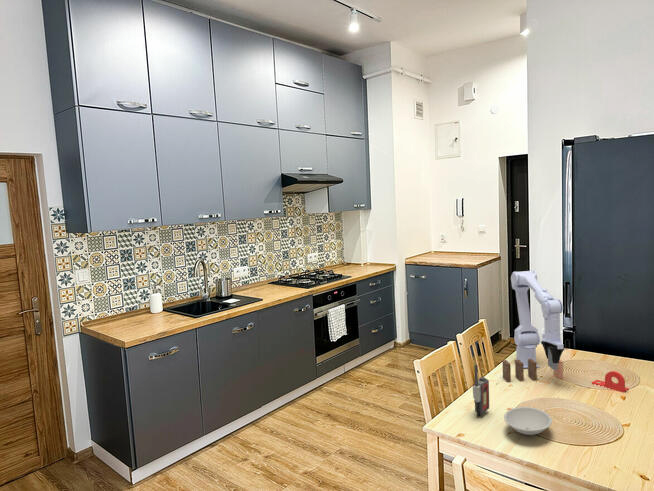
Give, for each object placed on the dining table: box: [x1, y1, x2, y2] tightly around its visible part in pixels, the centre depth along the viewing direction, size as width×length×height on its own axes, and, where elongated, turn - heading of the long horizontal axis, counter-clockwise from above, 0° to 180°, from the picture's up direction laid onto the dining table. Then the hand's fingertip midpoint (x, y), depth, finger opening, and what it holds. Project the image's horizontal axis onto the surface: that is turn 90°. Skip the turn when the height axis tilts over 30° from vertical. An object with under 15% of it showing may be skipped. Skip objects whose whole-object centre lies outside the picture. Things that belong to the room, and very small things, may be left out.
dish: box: [503, 406, 553, 436], centre depth 149 cm, size 18×14×5 cm
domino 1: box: [514, 359, 525, 382], centre depth 192 cm, size 2×5×8 cm, turn 178°
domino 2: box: [527, 359, 538, 382], centre depth 192 cm, size 2×5×8 cm, turn 178°
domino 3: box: [553, 359, 564, 380], centre depth 191 cm, size 2×5×8 cm, turn 178°
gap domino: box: [547, 347, 558, 371], centre depth 184 cm, size 2×5×8 cm, turn 178°
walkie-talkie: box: [472, 364, 490, 418], centre depth 163 cm, size 9×4×20 cm, turn 135°
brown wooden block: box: [502, 359, 512, 383], centre depth 192 cm, size 2×5×8 cm, turn 178°
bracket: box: [591, 370, 630, 394], centre depth 179 cm, size 12×4×8 cm, turn 34°
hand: (552, 360), depth 184 cm, fingers closed on gap domino, 5 cm apart
